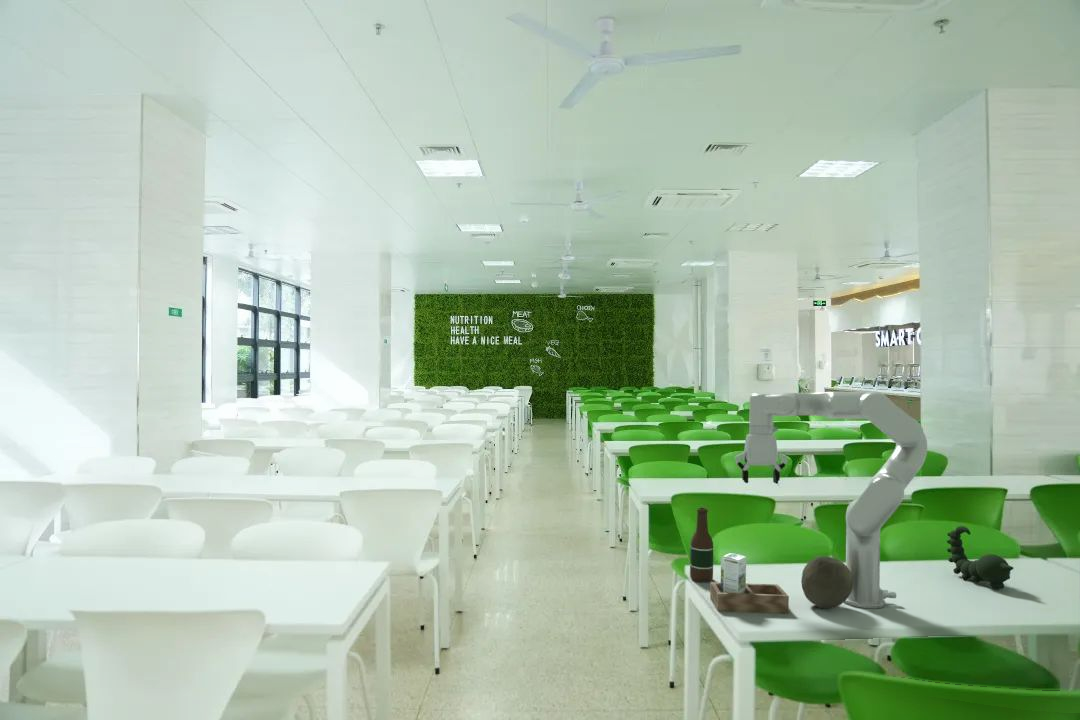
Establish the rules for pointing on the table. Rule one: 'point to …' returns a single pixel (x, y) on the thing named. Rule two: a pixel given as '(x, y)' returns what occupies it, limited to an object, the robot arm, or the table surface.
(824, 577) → the cantaloupe
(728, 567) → the syrup box
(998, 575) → the toy figurine
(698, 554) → the beer bottle
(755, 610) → the slot rack
